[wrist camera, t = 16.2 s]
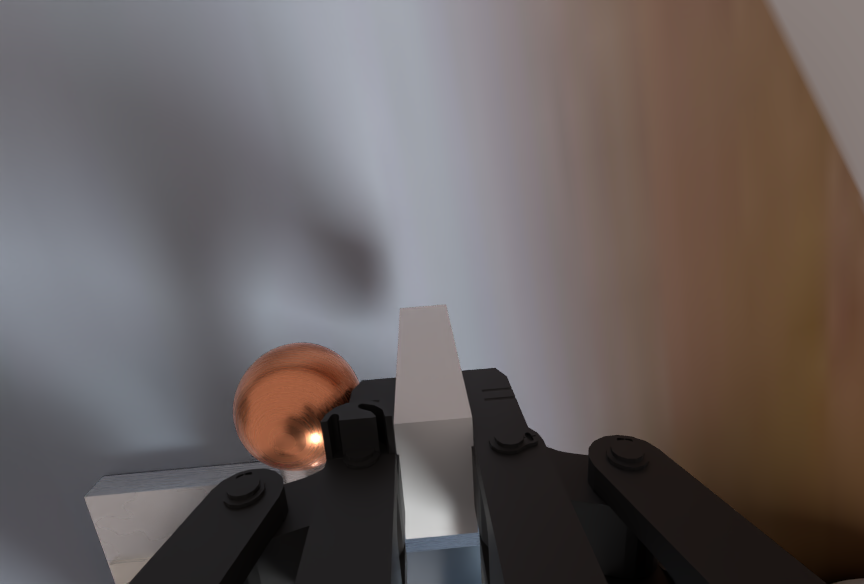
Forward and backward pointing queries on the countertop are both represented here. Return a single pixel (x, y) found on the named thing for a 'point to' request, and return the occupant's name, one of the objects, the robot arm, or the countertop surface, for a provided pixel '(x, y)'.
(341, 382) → the lever
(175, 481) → the press
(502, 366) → the countertop surface
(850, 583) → the pump dispenser
